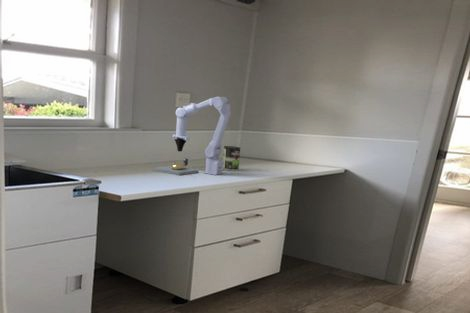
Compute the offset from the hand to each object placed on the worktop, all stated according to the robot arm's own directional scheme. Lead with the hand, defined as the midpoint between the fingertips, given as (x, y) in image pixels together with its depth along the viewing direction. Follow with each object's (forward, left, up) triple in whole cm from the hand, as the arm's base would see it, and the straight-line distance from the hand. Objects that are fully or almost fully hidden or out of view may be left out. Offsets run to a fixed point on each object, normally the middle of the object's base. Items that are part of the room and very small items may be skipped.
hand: (179, 151), depth 272 cm
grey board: (-6, +10, -10) cm, 16 cm away
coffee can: (-19, -28, -11) cm, 35 cm away
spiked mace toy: (-7, +7, -9) cm, 13 cm away
